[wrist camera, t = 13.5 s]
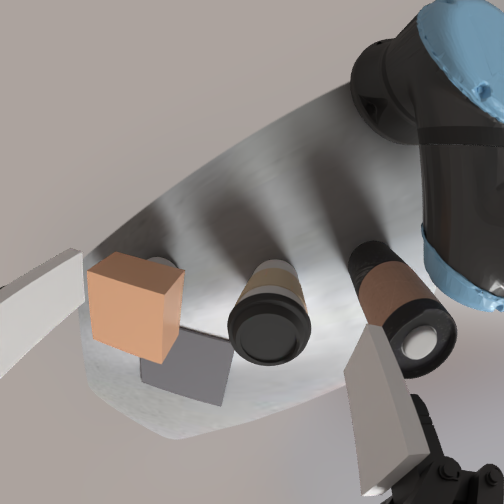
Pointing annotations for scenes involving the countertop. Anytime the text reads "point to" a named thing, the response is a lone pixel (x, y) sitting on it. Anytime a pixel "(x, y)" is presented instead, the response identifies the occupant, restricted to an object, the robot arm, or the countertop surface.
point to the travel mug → (402, 309)
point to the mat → (192, 367)
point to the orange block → (135, 305)
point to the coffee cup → (270, 316)
